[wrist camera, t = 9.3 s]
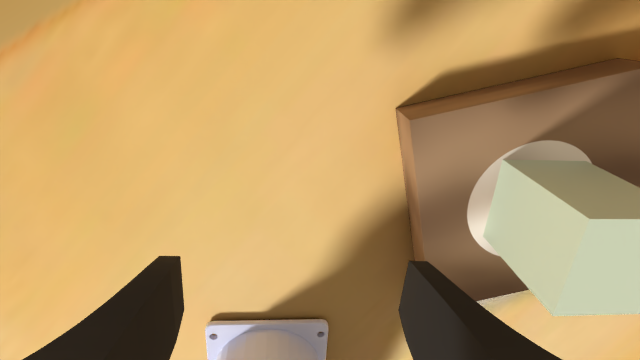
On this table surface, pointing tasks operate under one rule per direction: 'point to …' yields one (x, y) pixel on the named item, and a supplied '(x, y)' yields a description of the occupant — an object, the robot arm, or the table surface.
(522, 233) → the block
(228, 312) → the table surface
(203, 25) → the table surface
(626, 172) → the plinth
